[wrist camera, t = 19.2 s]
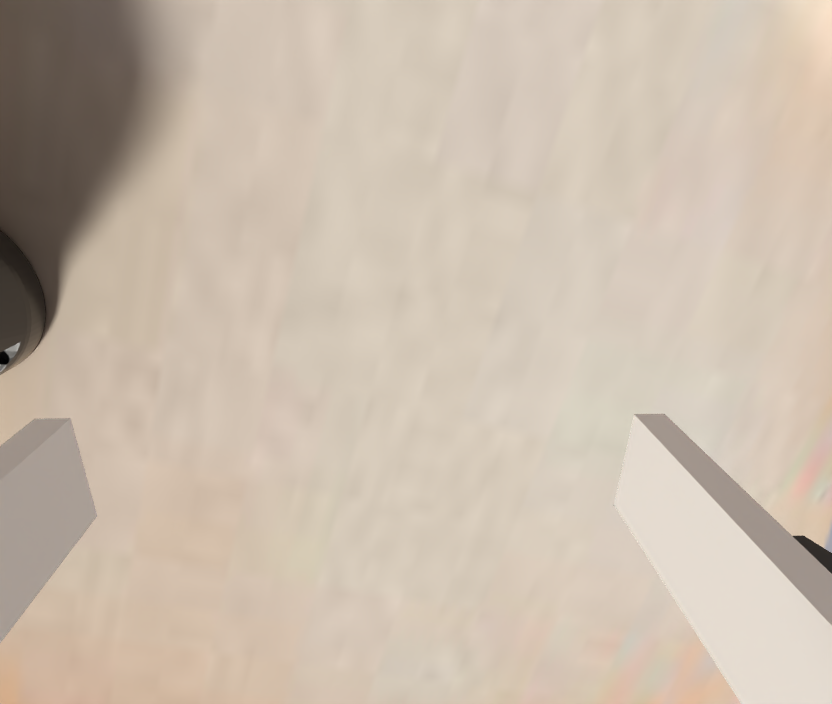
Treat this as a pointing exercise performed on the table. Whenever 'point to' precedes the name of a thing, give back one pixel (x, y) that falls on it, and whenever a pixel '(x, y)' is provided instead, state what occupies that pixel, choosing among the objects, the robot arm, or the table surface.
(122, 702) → the table surface
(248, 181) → the table surface
